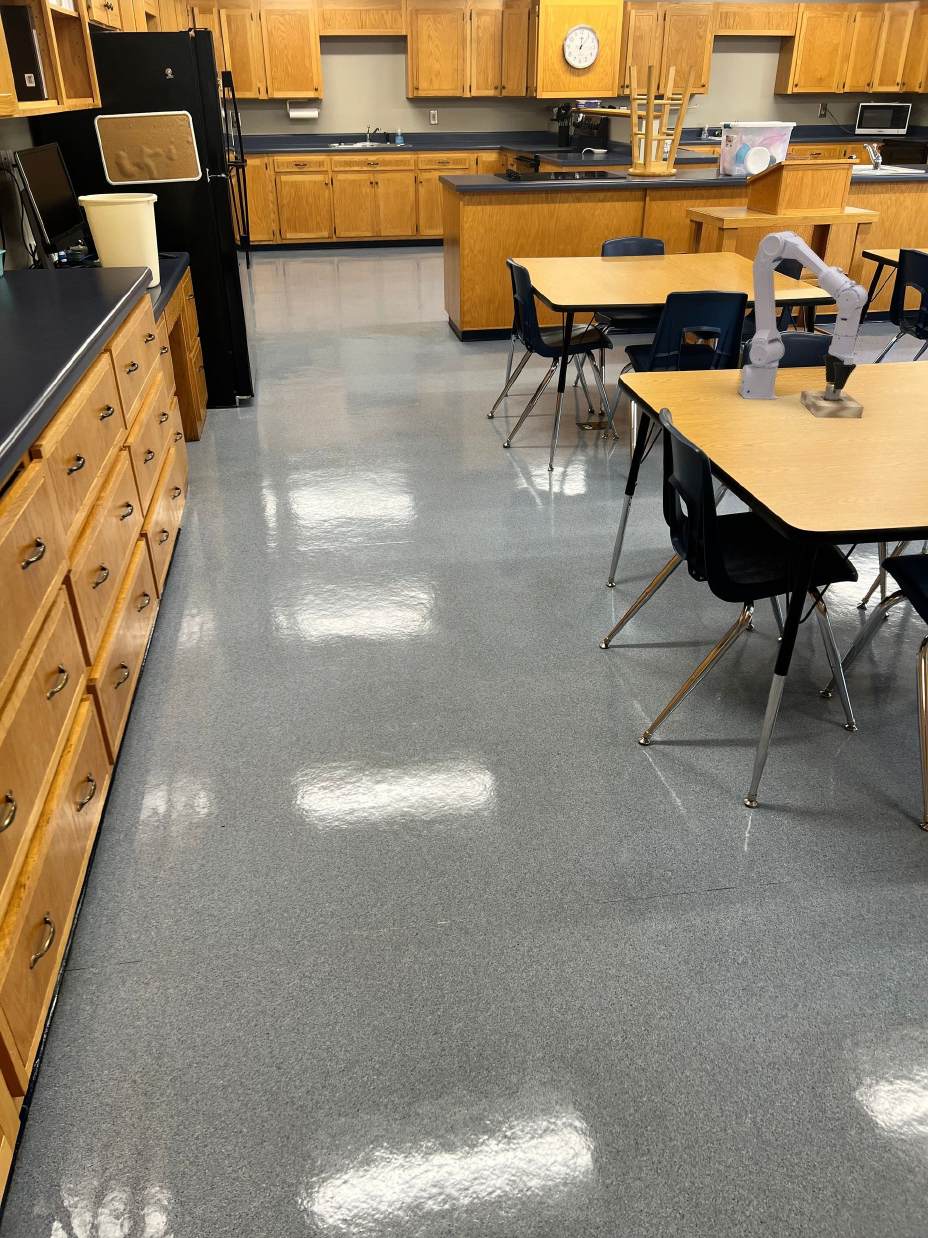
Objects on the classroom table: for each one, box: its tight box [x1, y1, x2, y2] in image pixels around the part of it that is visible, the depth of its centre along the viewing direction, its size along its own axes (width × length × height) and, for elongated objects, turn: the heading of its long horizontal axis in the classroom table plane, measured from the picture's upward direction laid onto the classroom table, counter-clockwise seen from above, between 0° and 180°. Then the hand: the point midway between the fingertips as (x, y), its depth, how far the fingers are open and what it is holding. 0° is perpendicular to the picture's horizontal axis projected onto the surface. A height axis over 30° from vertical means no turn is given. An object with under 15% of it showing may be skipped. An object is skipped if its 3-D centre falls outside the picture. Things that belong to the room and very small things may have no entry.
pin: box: [824, 382, 842, 401], centre depth 247 cm, size 4×4×7 cm
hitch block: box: [799, 390, 865, 419], centre depth 248 cm, size 12×16×3 cm
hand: (834, 385), depth 246 cm, fingers open, 7 cm apart
